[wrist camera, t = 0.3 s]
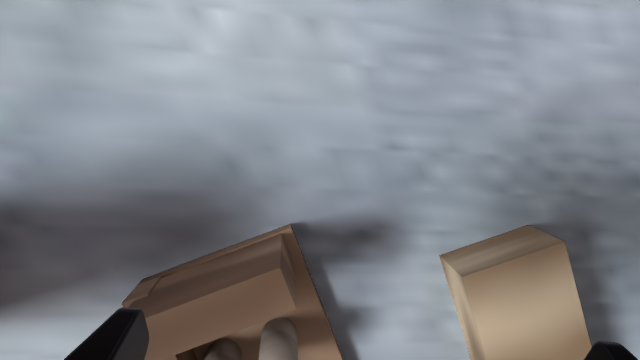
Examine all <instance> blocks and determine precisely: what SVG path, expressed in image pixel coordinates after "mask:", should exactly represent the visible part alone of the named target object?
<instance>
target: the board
mask: <svg viewBox="0 0 640 360" xmlns="http://www.w3.org/2000/svg"><path fill="white" fill-rule="evenodd" d="M439 256H440V259H441V263H442V266H443V269H444V273H445V276H446V279H447V282H448V286H449V289H450V292H451V296H452V299H453V302H454V306H455V309H456V312H457V316H458V319H459V322H460V326H461V329H462V332H463V336H464V339H465V342H466V345H467V349H468V352H469V355H470V359H471V360H584V358H585V357H586V355H587V354H588V352H589V351H590V349H591V348H592V347H591V343H590V339H589V335H588V331H587V327H586V323H585V319H584V316H583V312H582V308H581V304H580V300H579V296H578V292H577V288H576V284H575V280H574V276H573V272H572V268H571V264H570V260H569V257H568V253H567V249H566V245H565V242H564V241H562V240H560V239H558V238H556V237H553V236H551V235H549V234H547V233H545V232H543V231H541V230H539V229H536V228H534V227H532V226H530V225H526V226H523V227H520V228H518V229H515V230H512V231H509V232H506V233H503V234H500V235H497V236H494V237H491V238H488V239H486V240H483V241H480V242H477V243H474V244H471V245H468V246H465V247H462V248H459V249H456V250H454V251H451V252H448V253H445V254H442V255H439Z"/></svg>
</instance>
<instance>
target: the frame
mask: <svg viewBox="0 0 640 360" xmlns="http://www.w3.org/2000/svg"><path fill="white" fill-rule="evenodd" d="M122 305H123V307H128V308H140V309H141V310H143V312H144V315H145V319H146V323H147V327H148V331H149V344H148V348H147V352H146V356H145V360H343V358H342V355H341V352H340V350H339V347H338V345H337V342H336V340H335V337H334V334H333V332H332V329H331V327H330V324H329V322H328V319H327V316H326V314H325V311H324V309H323V306H322V304H321V301H320V298H319V296H318V293H317V291H316V288H315V286H314V283H313V280H312V278H311V275H310V273H309V270H308V268H307V265H306V262H305V260H304V257H303V255H302V252H301V250H300V247H299V244H298V242H297V239H296V237H295V234H294V232H293V229H292V226H291V224H289V225H286V226H283V227H281V228H278V229H275V230H273V231H270V232H267V233H265V234H262V235H260V236H257V237H254V238H252V239H249V240H246V241H244V242H241V243H238V244H236V245H233V246H230V247H228V248H225V249H222V250H220V251H217V252H214V253H212V254H209V255H206V256H204V257H201V258H198V259H196V260H193V261H190V262H188V263H185V264H182V265H180V266H177V267H174V268H172V269H169V270H166V271H164V272H161V273H158V274H156V275H153V276H150V277H148V278H145V279H142V281H141V282H140V283H139V284H138V285H137V286H136V288H135V289H134V290H133V291H132V292H131V293H130V294H129V296H128V297H127V298H126V299H125V300H124V301H123V302H122Z"/></svg>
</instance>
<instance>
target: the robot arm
mask: <svg viewBox="0 0 640 360" xmlns="http://www.w3.org/2000/svg"><path fill="white" fill-rule="evenodd" d="M148 344H149V331H148V327H147V323H146V319H145V315H144V312H143V310H141V309H140V308H128V307H123V308H120V309H118V310H117V311H116V312H115V313H114V314H113V315H112V316H111V317H109V318H108V319H107V320H106V321H105V322H104V323H103V324H102V325H101V326H100V327H99V328H98V329H96V330H95V331H94V332H93V333H92V334H91V335H90V336H89V337H88V338H87V339H86V340H85V341H83V342H82V343H81V344H80V345H79V346H78V347H77V348H76V349H75V350H74V351H73V352H71V353H70V354H69V355H68V356H67V357H66V358H65V359H64V360H145V356H146V352H147V348H148ZM584 360H638V359H637V358H636V357H635V356H634V355H633V354H631V353H630V352H629V351H628V350H627V349H626V348H625V347H624V346H622V345H621V344H619V343H615V342H603V341H598V342H596V343H595V344H594V345H593V346H592V348H591V349H590V351H589V352H588V354H587V355H586V357H585V358H584Z"/></svg>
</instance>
